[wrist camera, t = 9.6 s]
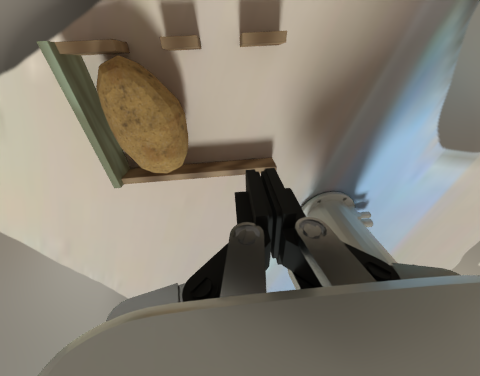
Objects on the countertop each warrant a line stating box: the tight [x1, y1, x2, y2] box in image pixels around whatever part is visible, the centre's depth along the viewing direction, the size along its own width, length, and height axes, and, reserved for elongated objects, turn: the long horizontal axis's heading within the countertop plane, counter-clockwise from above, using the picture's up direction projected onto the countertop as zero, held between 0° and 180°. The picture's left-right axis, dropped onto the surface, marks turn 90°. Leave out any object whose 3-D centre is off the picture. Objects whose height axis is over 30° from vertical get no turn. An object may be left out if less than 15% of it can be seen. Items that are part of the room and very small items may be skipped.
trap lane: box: [37, 31, 287, 188], centre depth 26 cm, size 26×18×4 cm
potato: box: [97, 55, 188, 173], centre depth 24 cm, size 10×14×8 cm
